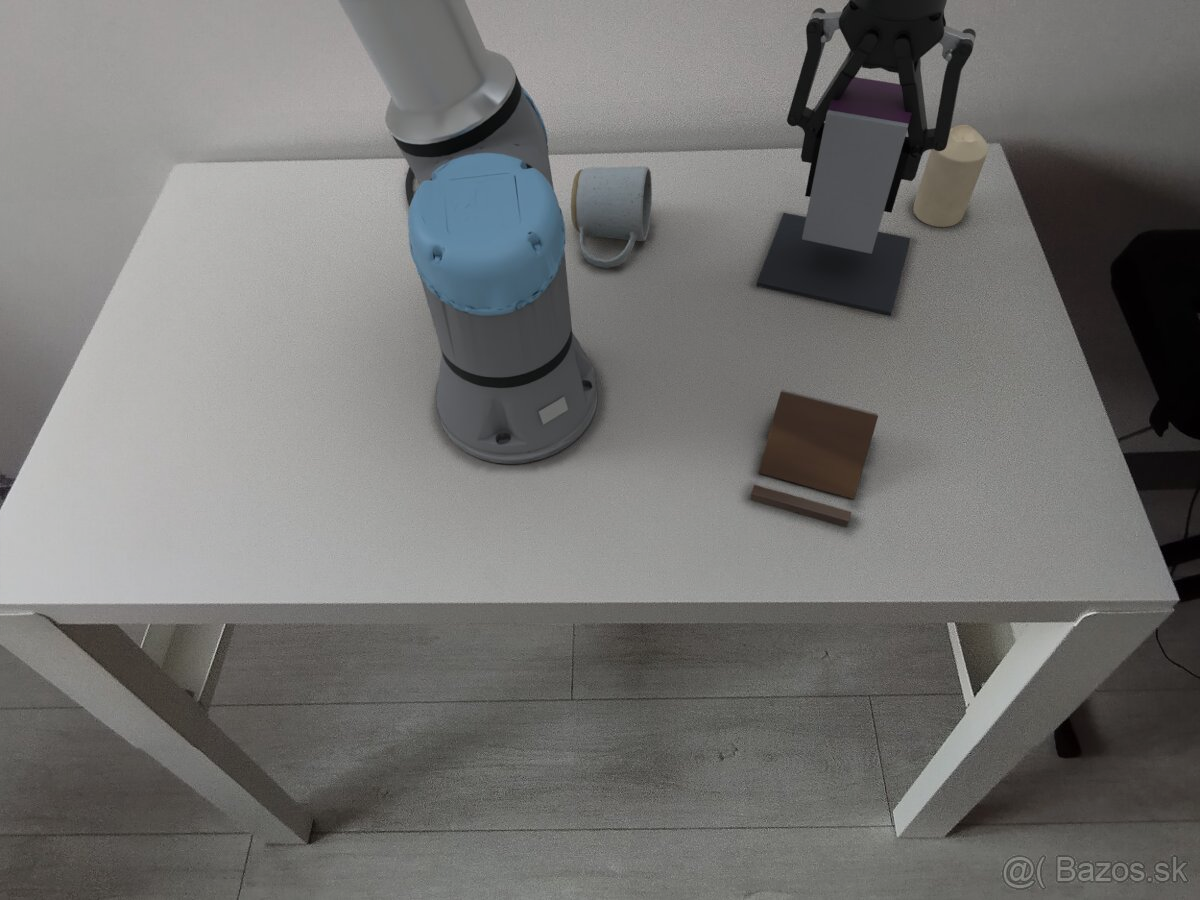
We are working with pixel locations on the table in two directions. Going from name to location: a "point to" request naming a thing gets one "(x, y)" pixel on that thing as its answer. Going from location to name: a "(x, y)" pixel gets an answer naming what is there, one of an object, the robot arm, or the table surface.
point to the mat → (834, 268)
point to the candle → (950, 178)
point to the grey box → (856, 165)
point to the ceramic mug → (612, 207)
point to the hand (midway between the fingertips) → (850, 195)
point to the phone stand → (815, 453)
